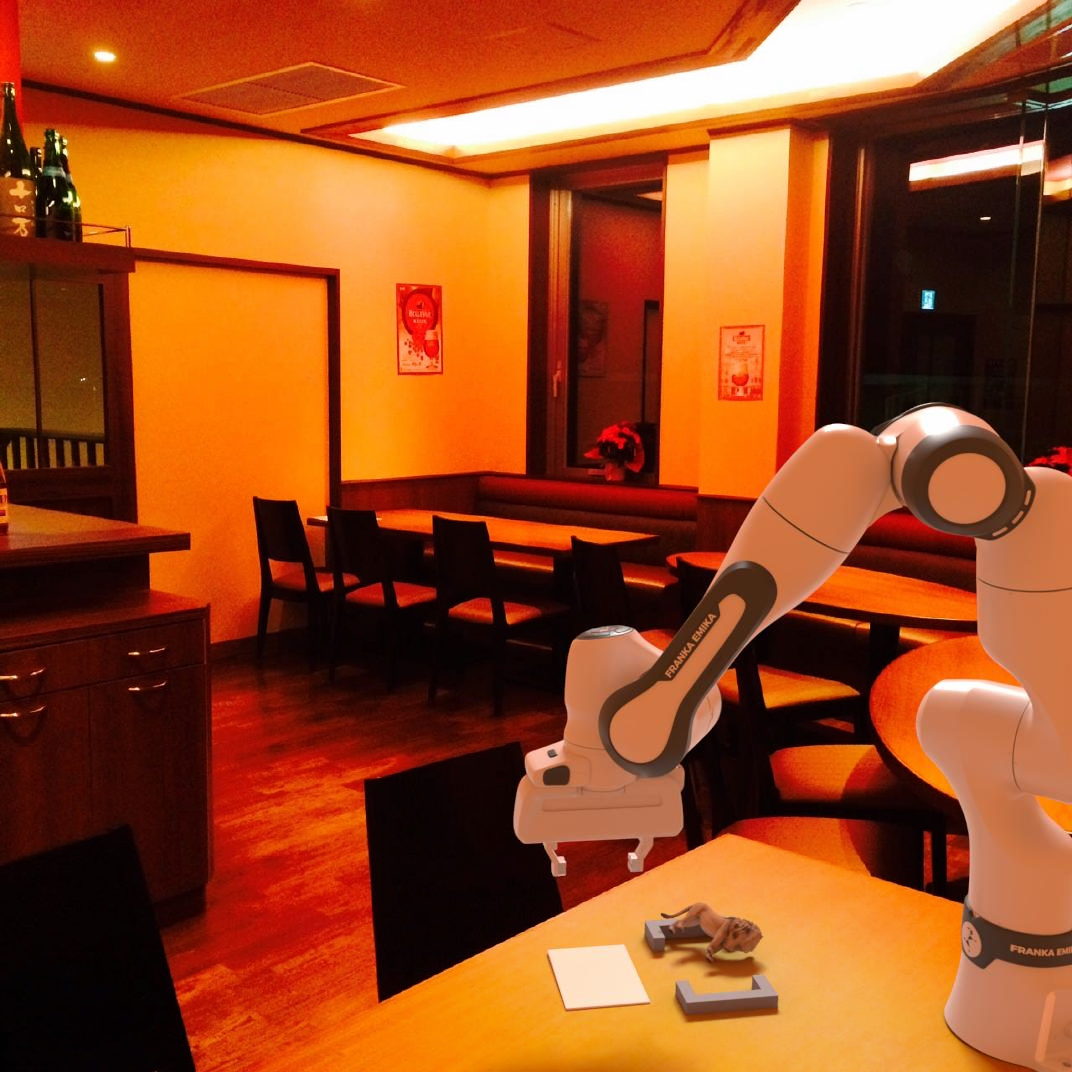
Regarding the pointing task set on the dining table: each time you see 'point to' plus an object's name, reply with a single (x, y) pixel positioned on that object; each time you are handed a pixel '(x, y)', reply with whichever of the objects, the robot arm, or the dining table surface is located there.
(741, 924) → the lion figurine
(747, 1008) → the grey bracket pair
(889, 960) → the dining table surface
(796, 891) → the dining table surface
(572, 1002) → the ceramic tile
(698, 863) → the dining table surface
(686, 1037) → the dining table surface
